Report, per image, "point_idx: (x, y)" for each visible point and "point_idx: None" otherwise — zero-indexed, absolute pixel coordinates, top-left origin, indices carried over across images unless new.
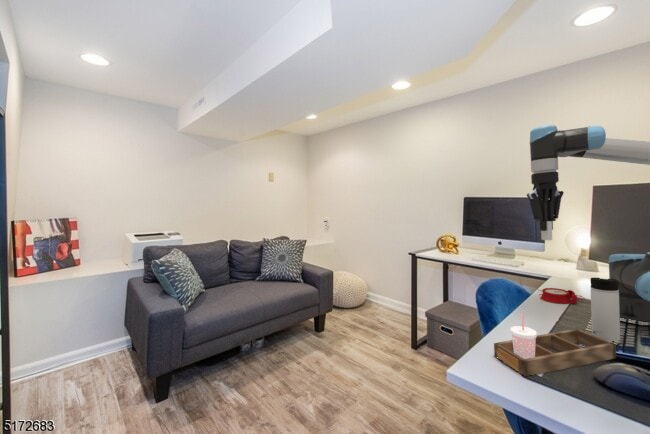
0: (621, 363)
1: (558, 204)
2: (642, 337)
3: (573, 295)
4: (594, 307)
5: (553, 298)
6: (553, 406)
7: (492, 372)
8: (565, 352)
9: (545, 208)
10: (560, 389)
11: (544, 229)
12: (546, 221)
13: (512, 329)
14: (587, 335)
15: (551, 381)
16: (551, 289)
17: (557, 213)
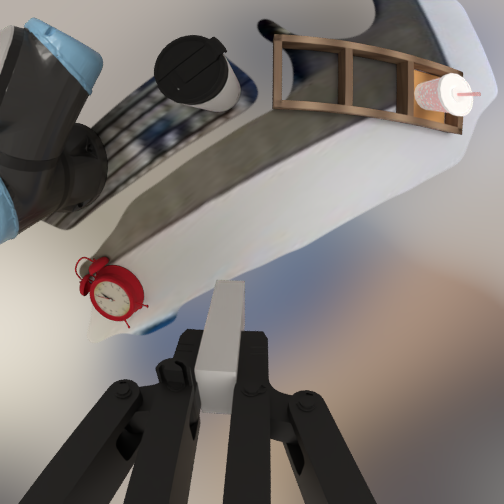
0: (283, 29)
1: (57, 484)
2: (140, 89)
3: (97, 267)
4: (233, 86)
5: (131, 284)
6: (459, 27)
7: (475, 105)
8: (390, 53)
9: (252, 495)
10: (431, 35)
11: (262, 337)
12: (250, 377)
13: (466, 109)
14: (281, 79)
15: (428, 49)
16: (106, 315)
17: (103, 415)
